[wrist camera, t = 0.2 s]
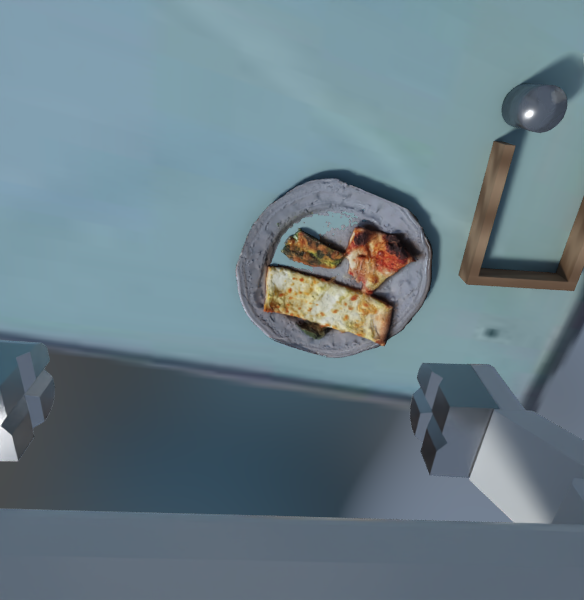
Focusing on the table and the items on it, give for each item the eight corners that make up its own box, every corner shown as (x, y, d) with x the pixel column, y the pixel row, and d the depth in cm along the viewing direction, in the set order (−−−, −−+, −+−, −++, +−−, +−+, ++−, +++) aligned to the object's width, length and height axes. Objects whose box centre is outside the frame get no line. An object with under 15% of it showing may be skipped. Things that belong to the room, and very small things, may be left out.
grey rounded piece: (508, 81, 51) (530, 83, 47) (547, 85, 51) (573, 86, 47) (496, 125, 53) (516, 130, 49) (534, 128, 54) (558, 134, 49)
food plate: (461, 228, 59) (470, 237, 55) (377, 367, 68) (381, 382, 65) (278, 150, 54) (278, 155, 51) (217, 311, 64) (213, 323, 61)
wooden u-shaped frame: (493, 141, 54) (505, 144, 51) (610, 150, 55) (627, 154, 52) (458, 275, 62) (466, 284, 59) (561, 281, 63) (574, 290, 60)
